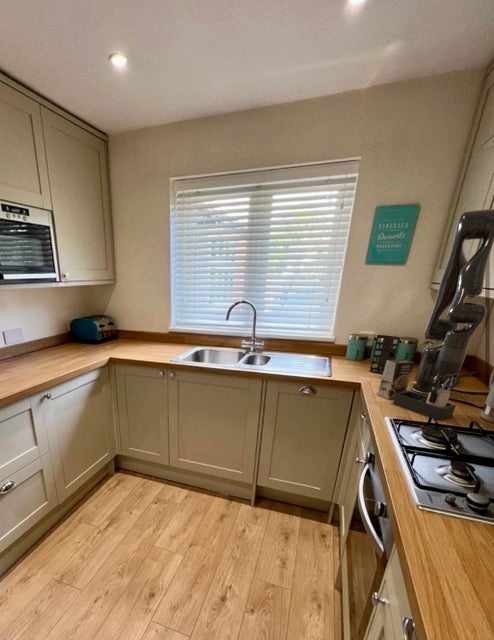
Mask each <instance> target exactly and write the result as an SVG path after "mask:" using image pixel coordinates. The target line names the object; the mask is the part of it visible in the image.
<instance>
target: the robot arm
mask: <svg viewBox="0 0 494 640" xmlns="http://www.w3.org/2000/svg"><path fill="white" fill-rule="evenodd" d="M471 240H481V242H480V245H479V247H478V249H477V250H476V251H475V253H474V254H473V255H472V256H471V257H470V259H469V260H468V259H467V257H466V255H465V251H464V243H465V241H471ZM493 245H494V208H487V209H476V210H469V211H464V212H462V213H461V214H460V215H459V217H458V219H457V223H456V225H455V229H454V233H453V238H452V243H451V247H450V251H449V254H448V259H447V261H446V265H445V268H444V269H443V270H444V271H443V274H442V275H441V279H440V283H439V287H438V290H437V294H436V298H435V301H434V305H433V307H432V310H431V314H430V316H429V319H428V321H427V324H426V326H425V331H424V337H425V338H426V339H428V340H432V341H433V340H434V341H442V343H439V344H437V345H432V346H426V347H424V348H423V351H422V353H421V357H420V361H419V364H418V368H417V370H416V373H415V378H414V380H413V384H412V387H411V391H412V392H415V393H418V394H421V395H425V396H428V395H429V392H431V395H430V398H429V402H431V403H436V400H437V397H438V394H439V392H440V391H441V389H444V390H447V391H450V392H451V390H453V389H454V386H456V385H457V384H458V382H459V377H462V376H463V377H465V376H469V375H473V374H474V376H478V373H477V372H476V371H470V372H467V373H461V370H462V368H463V364H464V362H465V358H466V356H467V351H468V348H469V344H470V342H471V340H472V339H471V338H472V337H473V335H474V334H475V332H476V331H477V329H478V328H479V326H480V325H481V324H482V322H483V321H484V319H485V318H486V316H487V313H488V309H487V306H486V304H484V303H481V302H465V300H466V299H467V300H468V299H473V298H476V297H479V296H480V295H482V293H483V289H484V283H485V276H486V269H487V265H488V261H489V258H490V255H491V252H492V248H493ZM445 311H447V312H446V318H441V316H442V315H443V313H444V312H445ZM460 324H465V325H463V327H461V328H459V325H460Z"/></svg>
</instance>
